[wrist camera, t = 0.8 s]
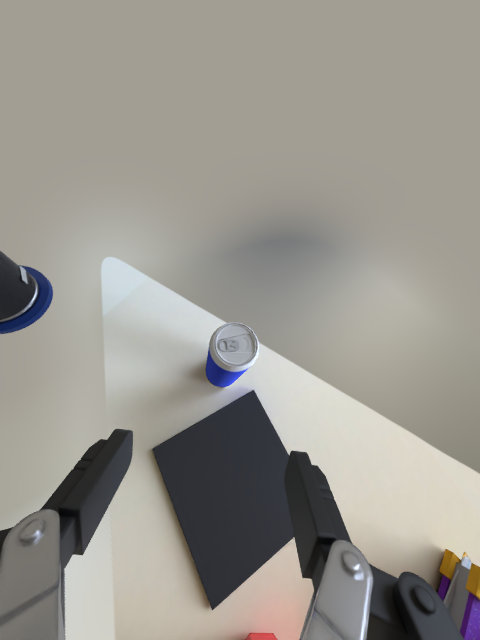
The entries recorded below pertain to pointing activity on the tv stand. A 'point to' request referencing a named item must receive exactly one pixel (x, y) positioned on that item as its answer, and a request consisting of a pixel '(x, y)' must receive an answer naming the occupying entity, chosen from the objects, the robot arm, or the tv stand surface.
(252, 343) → the beverage can
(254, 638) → the apple
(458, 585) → the book
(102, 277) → the tv stand surface
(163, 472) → the mat
